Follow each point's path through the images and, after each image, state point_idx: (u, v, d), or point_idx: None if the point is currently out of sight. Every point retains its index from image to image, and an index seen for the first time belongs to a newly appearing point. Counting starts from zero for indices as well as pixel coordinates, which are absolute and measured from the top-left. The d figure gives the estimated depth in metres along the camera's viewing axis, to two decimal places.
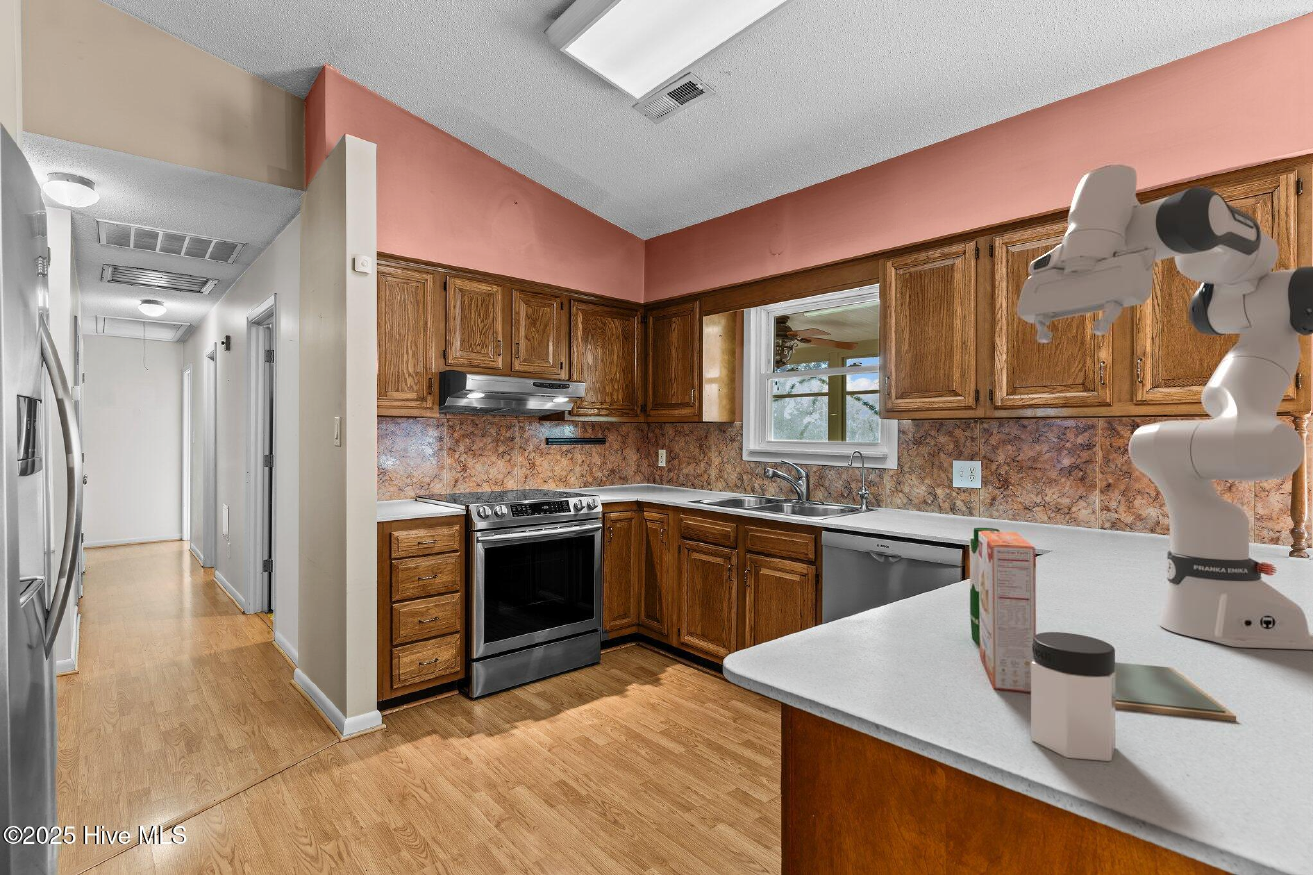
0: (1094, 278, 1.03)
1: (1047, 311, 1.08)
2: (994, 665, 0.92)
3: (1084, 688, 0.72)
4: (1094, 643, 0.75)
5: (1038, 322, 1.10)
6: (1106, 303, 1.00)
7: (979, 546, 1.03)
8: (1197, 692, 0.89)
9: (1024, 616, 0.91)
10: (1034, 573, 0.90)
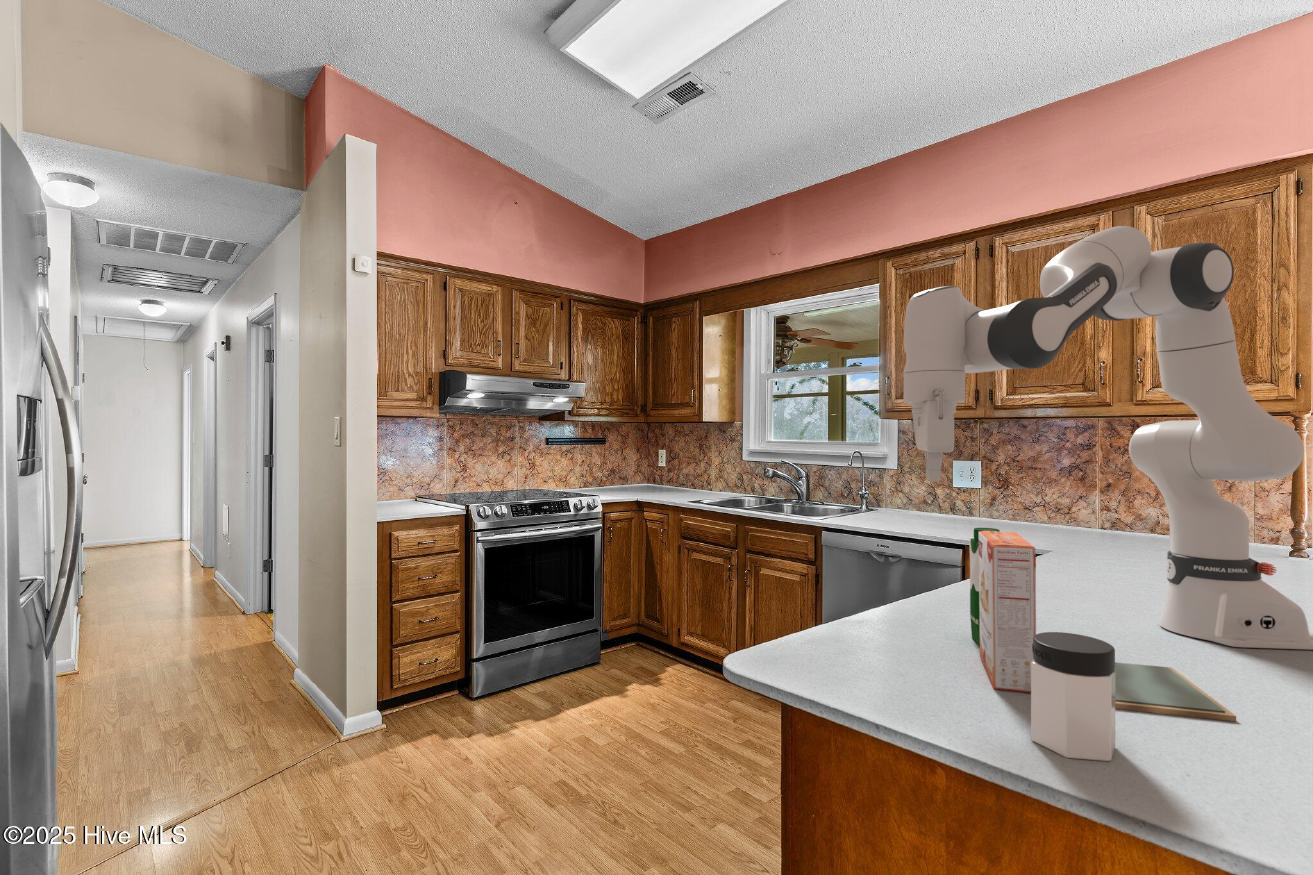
0: (924, 422, 0.99)
1: None
2: (994, 665, 0.92)
3: (1084, 688, 0.72)
4: (1094, 643, 0.75)
5: (925, 459, 1.03)
6: (927, 452, 1.00)
7: (979, 546, 1.03)
8: (1197, 692, 0.89)
9: (1024, 616, 0.91)
10: (1034, 573, 0.90)
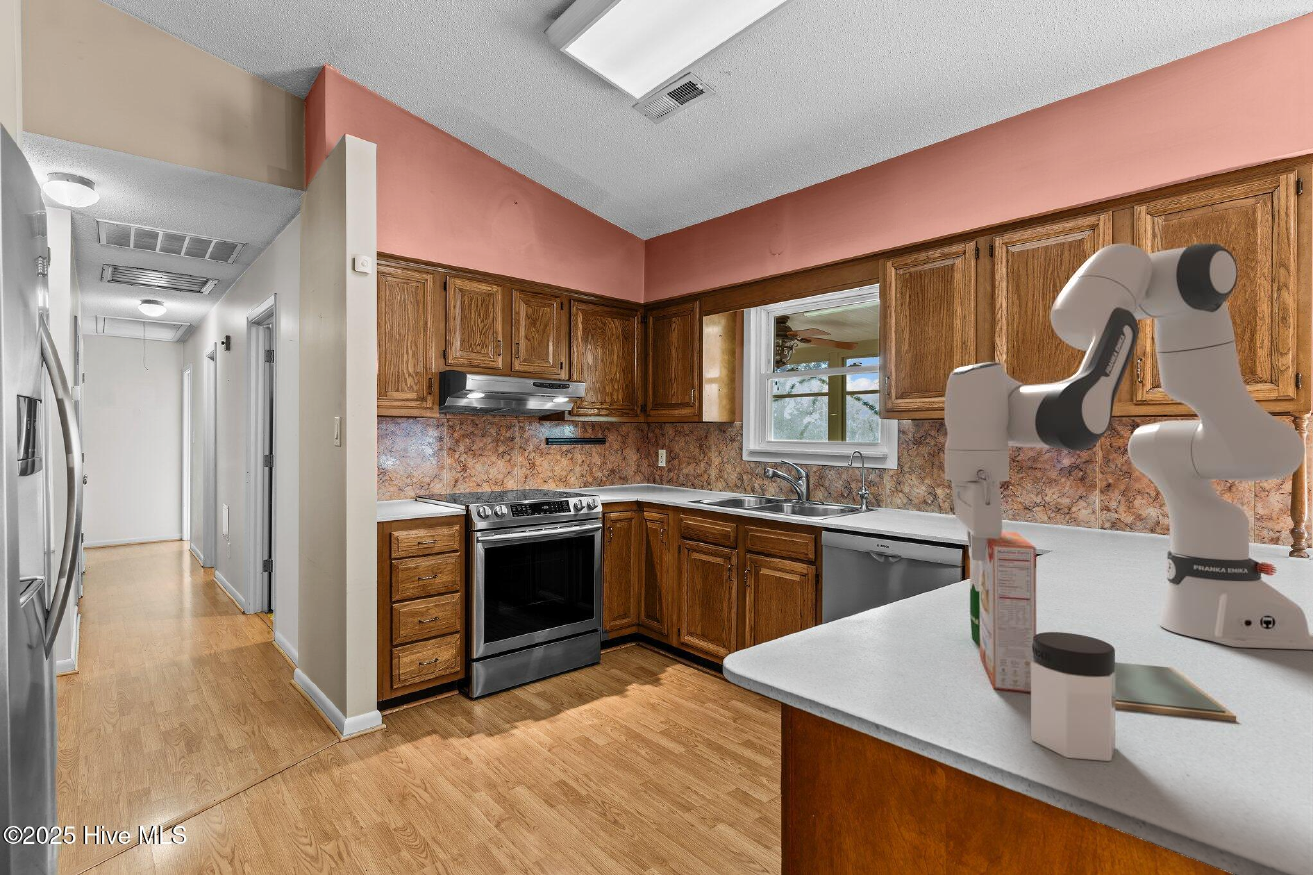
0: (968, 501, 0.97)
1: None
2: (994, 665, 0.92)
3: (1084, 688, 0.72)
4: (1094, 643, 0.75)
5: (968, 535, 1.01)
6: None
7: None
8: (1197, 692, 0.89)
9: (1025, 616, 0.91)
10: (1035, 573, 0.90)
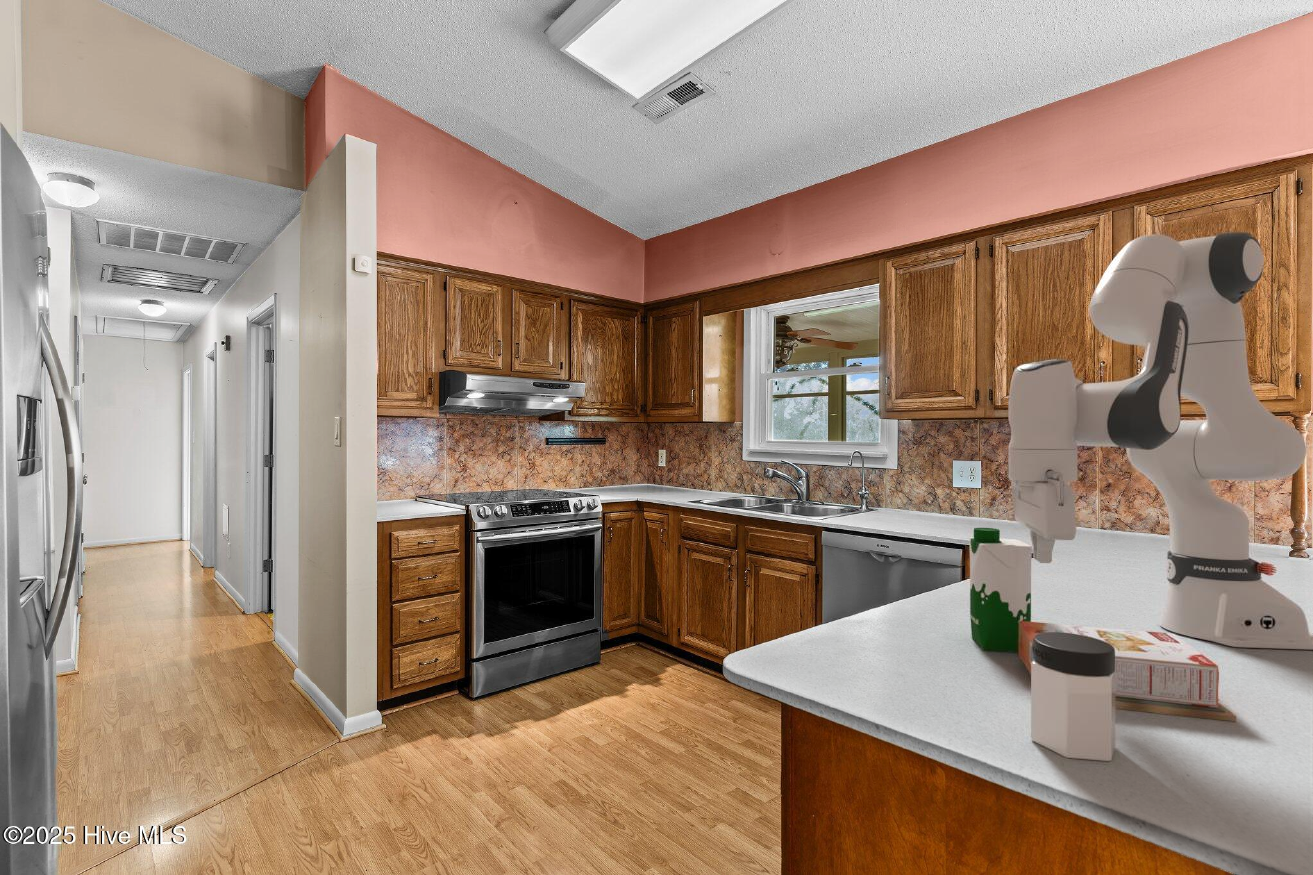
0: (1035, 502, 0.94)
1: (1024, 525, 1.01)
2: None
3: (1084, 688, 0.72)
4: (1094, 643, 0.75)
5: (1032, 537, 0.98)
6: (1036, 532, 0.95)
7: (1161, 635, 0.95)
8: None
9: (1128, 687, 0.87)
10: (1184, 703, 0.85)
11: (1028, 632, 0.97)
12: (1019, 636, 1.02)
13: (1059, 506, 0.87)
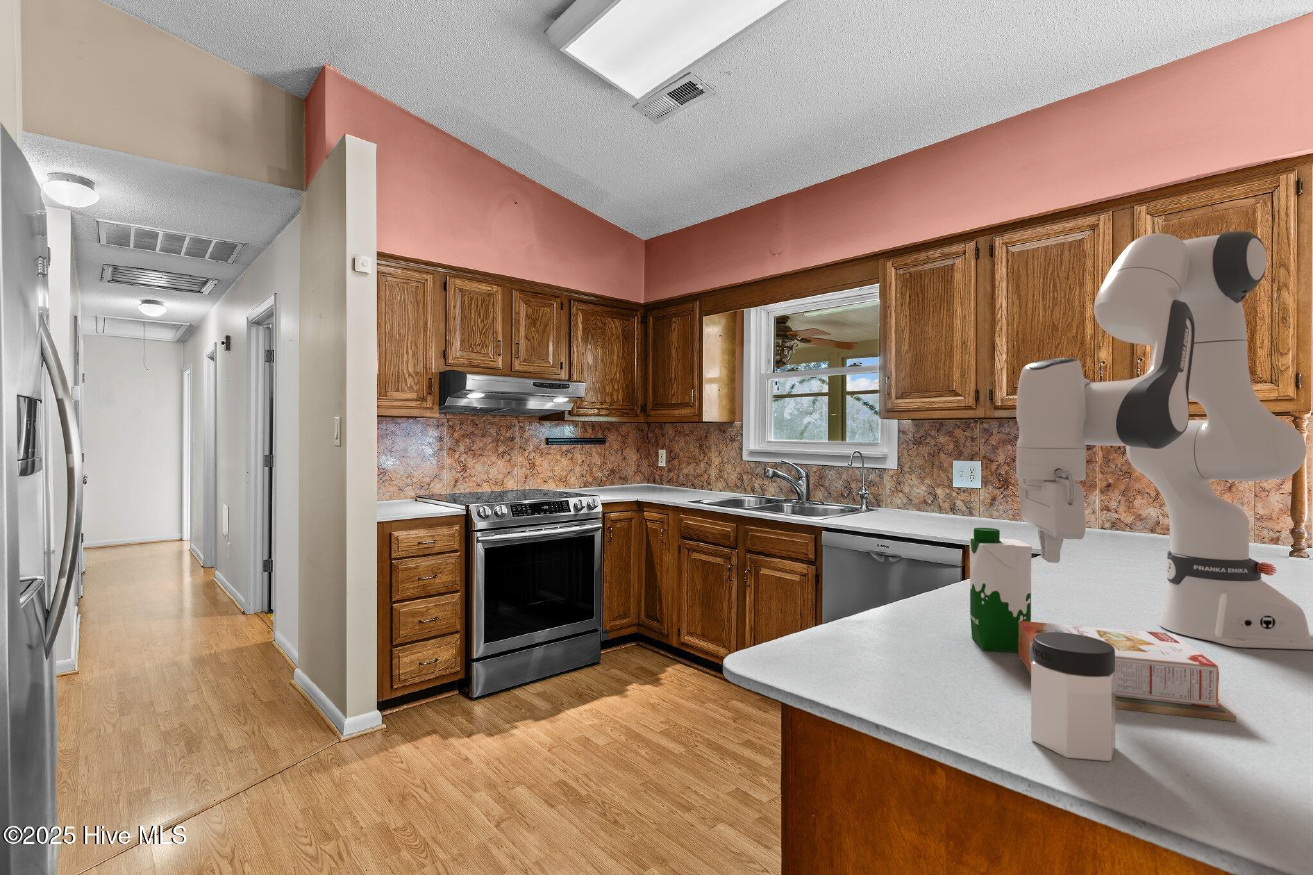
0: (1043, 501, 0.94)
1: None
2: None
3: (1084, 688, 0.72)
4: (1094, 643, 0.75)
5: (1040, 537, 0.98)
6: (1044, 532, 0.95)
7: (1161, 635, 0.95)
8: None
9: (1128, 687, 0.87)
10: (1184, 703, 0.85)
11: (1028, 632, 0.97)
12: (1019, 636, 1.02)
13: (1068, 505, 0.87)
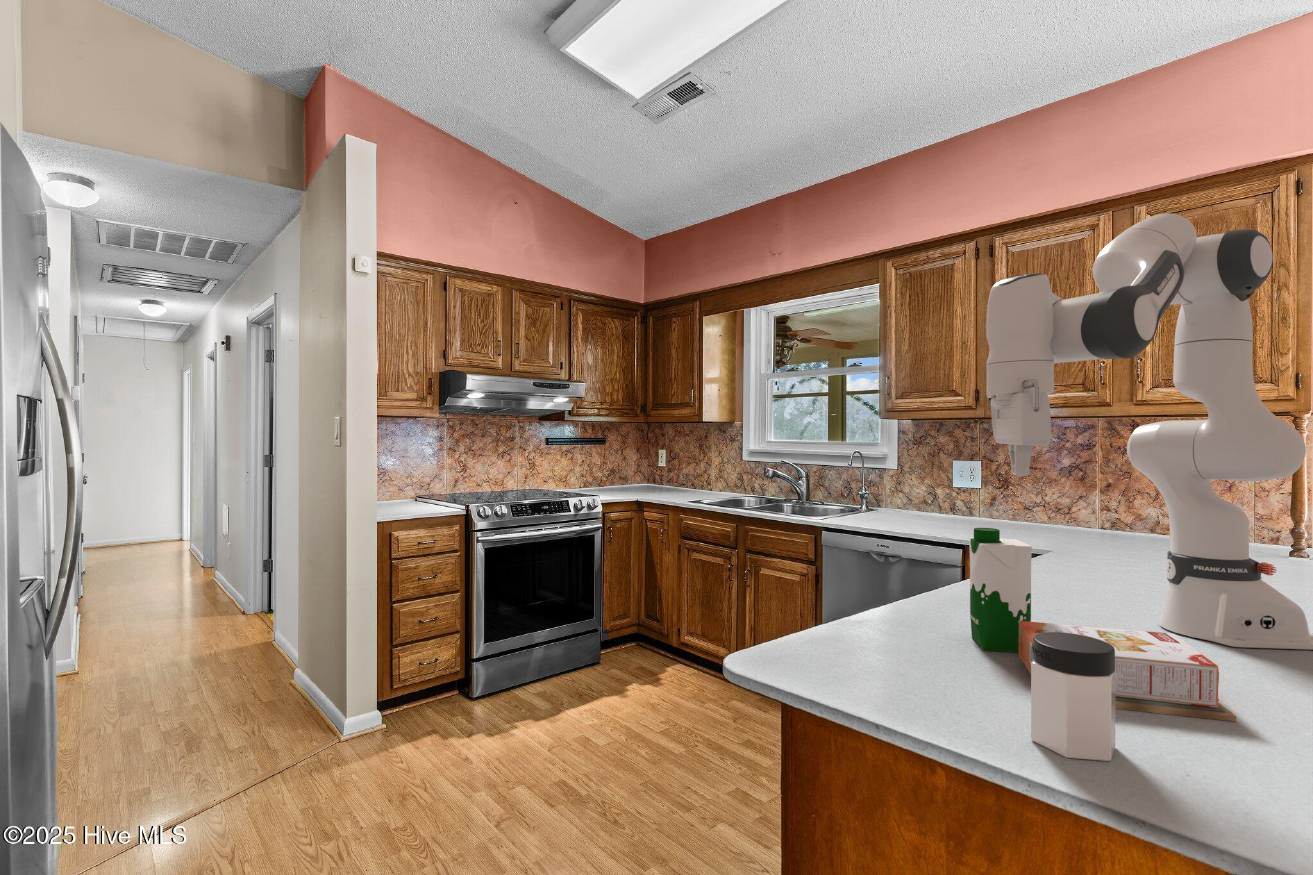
0: (1012, 414, 0.95)
1: (1003, 443, 1.01)
2: None
3: (1084, 688, 0.72)
4: (1094, 643, 0.75)
5: (1010, 453, 0.99)
6: (1014, 446, 0.96)
7: (1161, 635, 0.95)
8: None
9: (1128, 687, 0.87)
10: (1184, 703, 0.85)
11: (1028, 632, 0.97)
12: (1019, 636, 1.02)
13: (1034, 412, 0.88)
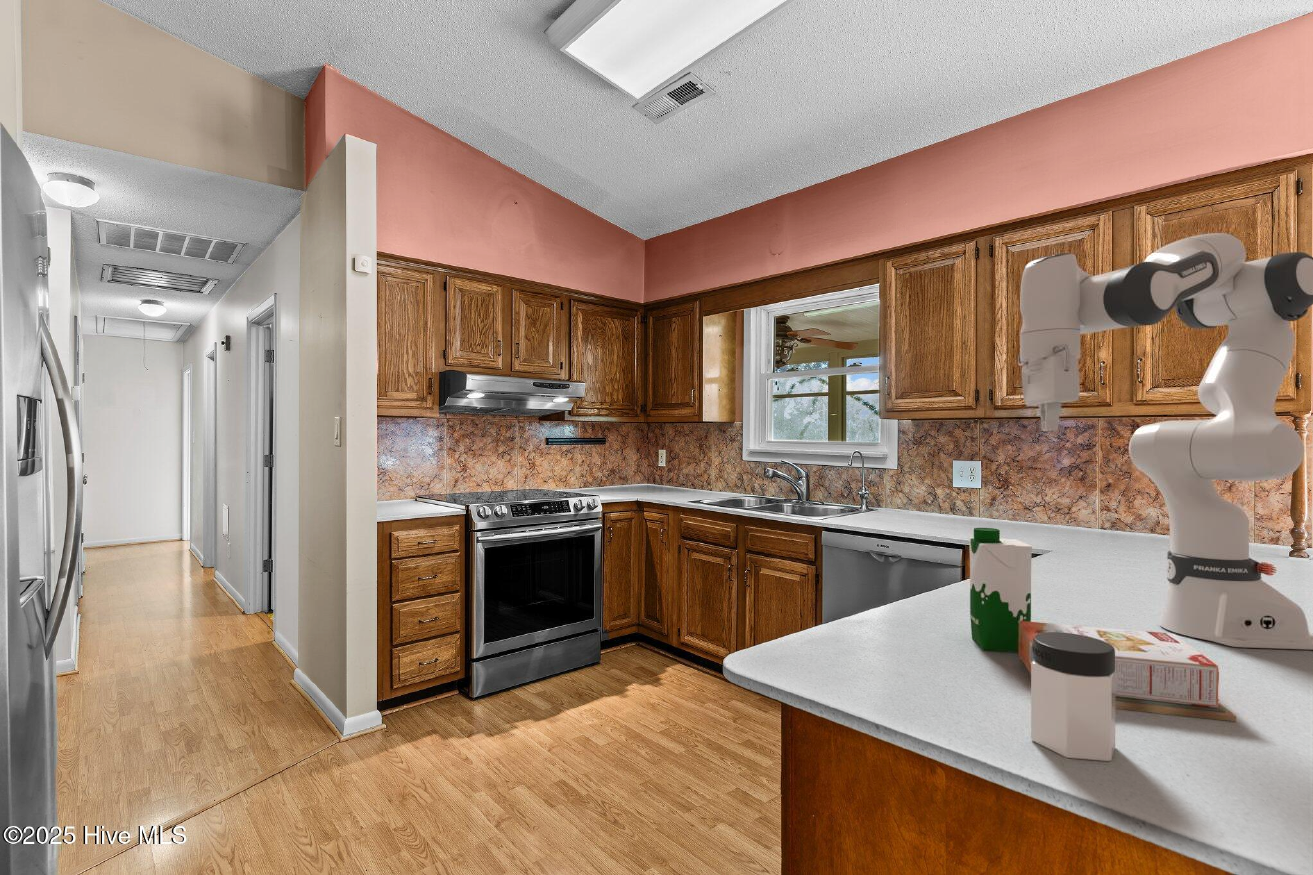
0: (1044, 377, 1.09)
1: (1034, 404, 1.15)
2: None
3: (1084, 688, 0.72)
4: (1094, 643, 0.75)
5: (1040, 412, 1.13)
6: (1045, 404, 1.10)
7: (1161, 635, 0.95)
8: None
9: (1128, 687, 0.87)
10: (1184, 703, 0.85)
11: (1028, 632, 0.97)
12: (1019, 636, 1.02)
13: (1065, 371, 1.02)
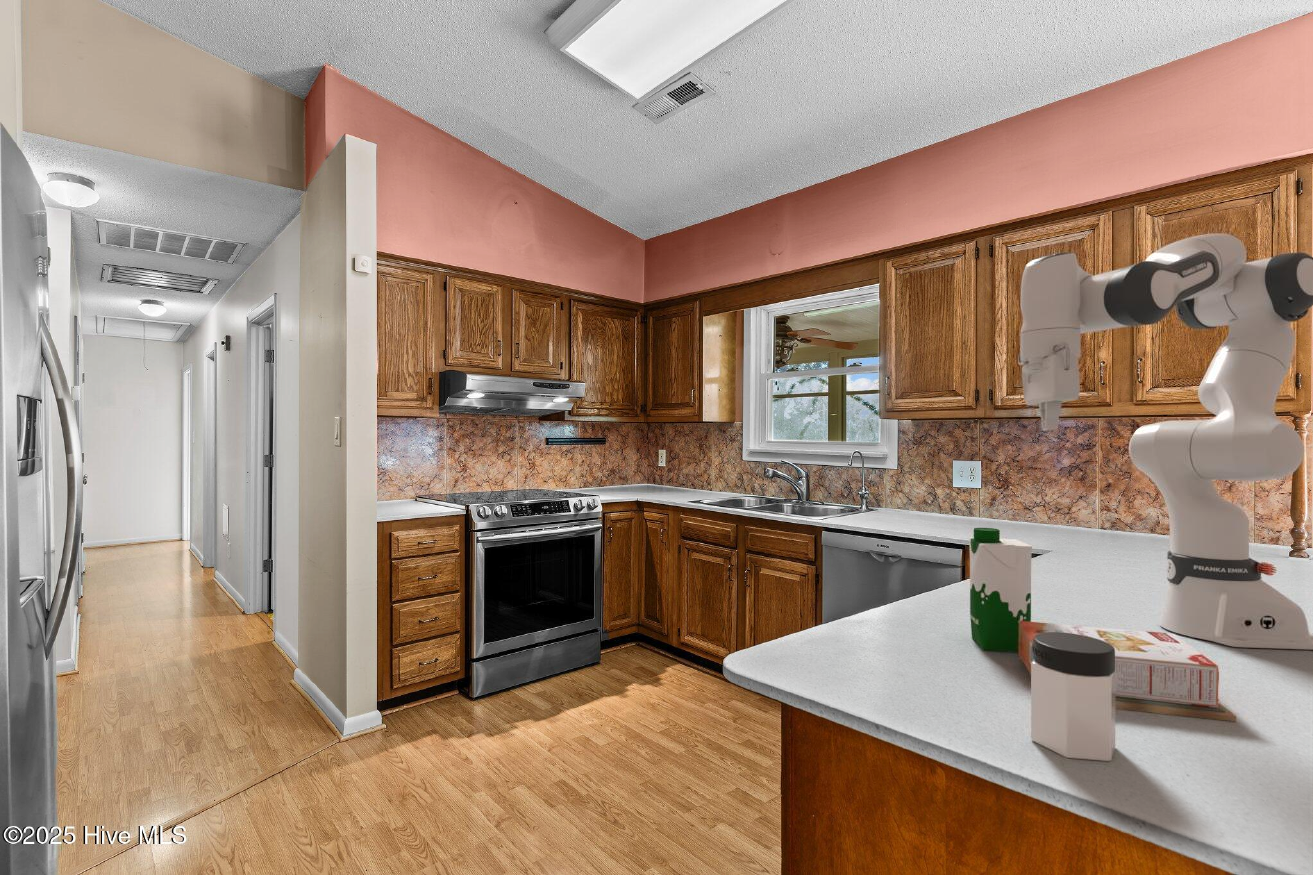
0: (1044, 376, 1.09)
1: (1034, 403, 1.15)
2: None
3: (1084, 688, 0.72)
4: (1094, 643, 0.75)
5: (1041, 411, 1.13)
6: (1045, 403, 1.10)
7: (1161, 635, 0.95)
8: None
9: (1128, 687, 0.87)
10: (1184, 703, 0.85)
11: (1028, 632, 0.97)
12: (1019, 636, 1.02)
13: (1065, 370, 1.02)
